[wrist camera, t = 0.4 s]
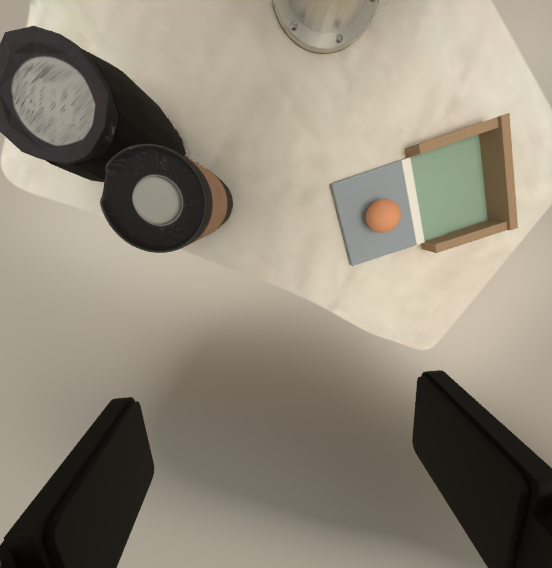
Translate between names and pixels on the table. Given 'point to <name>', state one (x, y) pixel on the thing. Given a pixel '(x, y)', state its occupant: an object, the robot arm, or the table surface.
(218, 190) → the travel mug
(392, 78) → the table surface
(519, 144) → the table surface
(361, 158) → the table surface
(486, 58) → the table surface
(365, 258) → the lane
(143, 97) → the portable speaker
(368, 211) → the ball
